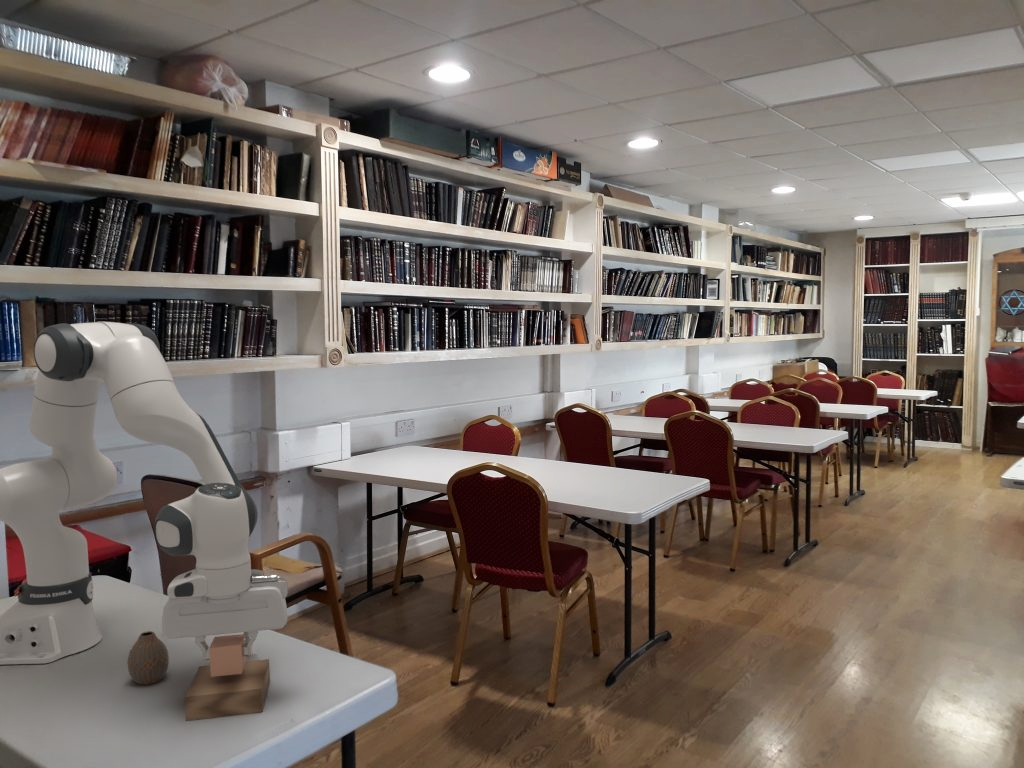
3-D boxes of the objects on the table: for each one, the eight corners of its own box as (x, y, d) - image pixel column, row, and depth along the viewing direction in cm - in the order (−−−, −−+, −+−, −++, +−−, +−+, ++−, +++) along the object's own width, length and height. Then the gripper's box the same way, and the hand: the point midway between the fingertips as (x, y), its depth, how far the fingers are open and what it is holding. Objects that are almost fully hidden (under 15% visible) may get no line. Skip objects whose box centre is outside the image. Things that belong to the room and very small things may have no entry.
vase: (143, 691, 138) (140, 643, 137) (120, 683, 142) (118, 636, 141) (177, 676, 144) (175, 630, 143) (155, 668, 147) (152, 624, 147)
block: (210, 676, 131) (209, 648, 130) (215, 664, 136) (214, 636, 135) (241, 673, 132) (240, 645, 131) (245, 661, 137) (244, 634, 136)
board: (186, 720, 127) (185, 697, 127) (200, 688, 139) (199, 666, 138) (262, 711, 129) (261, 688, 129) (270, 680, 141) (269, 659, 141)
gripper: (288, 568, 138) (291, 643, 139) (166, 577, 134) (170, 655, 135) (285, 579, 132) (288, 658, 133) (157, 589, 128) (161, 671, 129)
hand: (228, 657), depth 134 cm, fingers closed on block, 5 cm apart
